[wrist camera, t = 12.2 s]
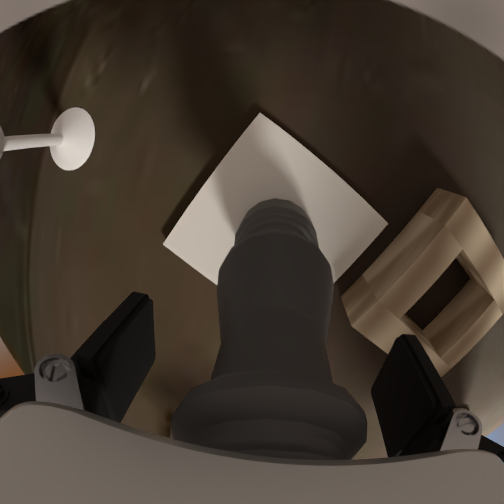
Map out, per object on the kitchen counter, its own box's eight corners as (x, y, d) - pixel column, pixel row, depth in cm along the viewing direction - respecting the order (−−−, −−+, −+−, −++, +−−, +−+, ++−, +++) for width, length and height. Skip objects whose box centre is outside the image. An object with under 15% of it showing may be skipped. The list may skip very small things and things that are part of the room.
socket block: (494, 273, 24) (519, 292, 19) (415, 358, 28) (430, 386, 24) (436, 187, 22) (466, 197, 17) (340, 296, 26) (351, 326, 22)
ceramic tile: (384, 220, 24) (388, 223, 23) (283, 326, 28) (283, 332, 27) (260, 114, 22) (259, 112, 21) (166, 240, 26) (162, 244, 25)
